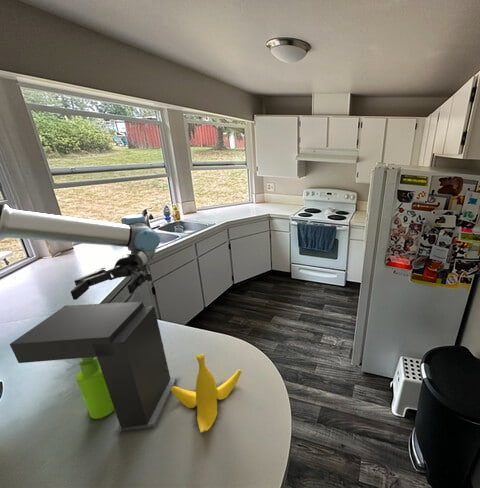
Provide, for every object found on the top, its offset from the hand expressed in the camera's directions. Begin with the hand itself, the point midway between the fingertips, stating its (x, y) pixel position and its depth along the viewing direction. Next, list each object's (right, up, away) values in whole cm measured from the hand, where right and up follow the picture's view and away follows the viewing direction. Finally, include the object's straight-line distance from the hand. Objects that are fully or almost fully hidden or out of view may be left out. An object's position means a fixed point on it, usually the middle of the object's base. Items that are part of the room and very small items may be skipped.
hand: (102, 292), depth 73 cm
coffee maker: (+10, -31, -4) cm, 32 cm away
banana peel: (+33, -32, -4) cm, 46 cm away
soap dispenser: (+5, -31, -5) cm, 32 cm away
